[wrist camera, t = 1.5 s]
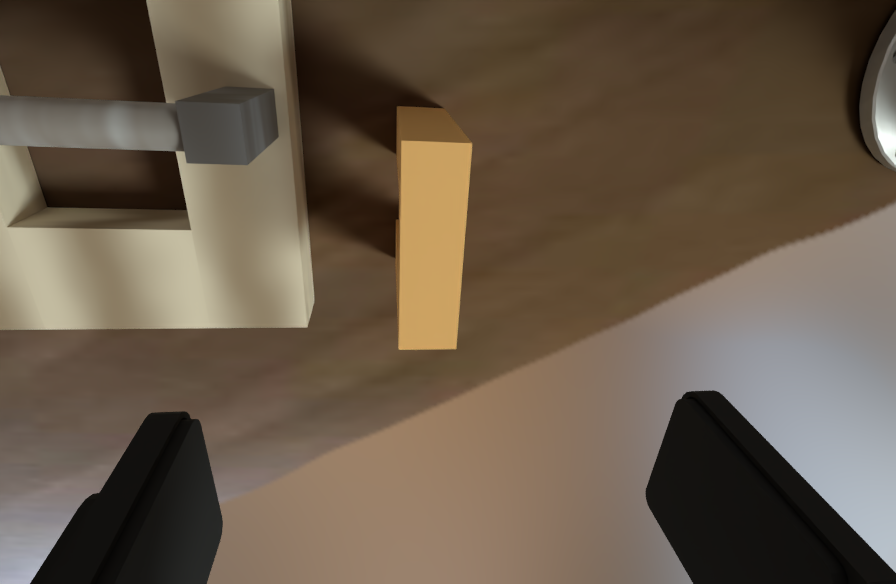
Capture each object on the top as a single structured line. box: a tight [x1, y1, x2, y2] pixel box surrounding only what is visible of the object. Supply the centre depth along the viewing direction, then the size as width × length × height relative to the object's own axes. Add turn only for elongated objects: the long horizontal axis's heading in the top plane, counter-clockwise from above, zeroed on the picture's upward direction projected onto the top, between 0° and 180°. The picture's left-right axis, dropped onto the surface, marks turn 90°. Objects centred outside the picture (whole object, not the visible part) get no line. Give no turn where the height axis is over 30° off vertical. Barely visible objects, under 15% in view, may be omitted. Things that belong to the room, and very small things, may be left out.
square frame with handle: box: [0, 0, 315, 330], centre depth 19 cm, size 18×20×8 cm
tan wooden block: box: [395, 106, 472, 350], centre depth 22 cm, size 2×8×9 cm, turn 177°
